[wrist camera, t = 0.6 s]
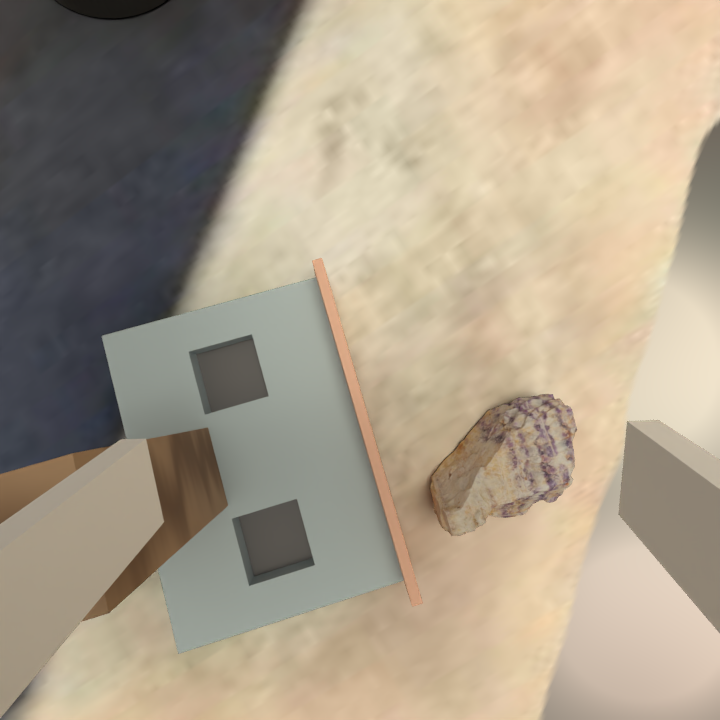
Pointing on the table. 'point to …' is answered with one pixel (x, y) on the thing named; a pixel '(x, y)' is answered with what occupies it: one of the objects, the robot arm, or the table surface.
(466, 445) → the mineral specimen
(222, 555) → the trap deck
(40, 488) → the walnut block
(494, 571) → the table surface
